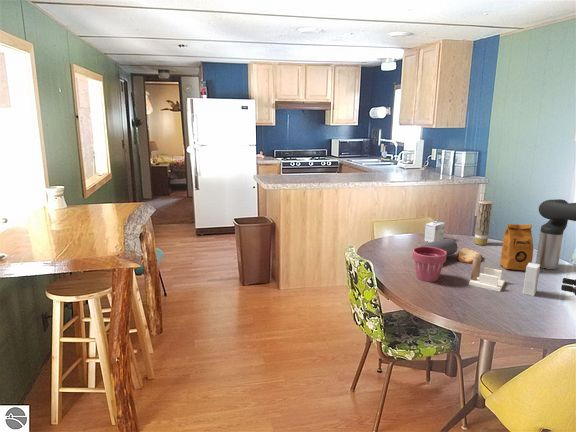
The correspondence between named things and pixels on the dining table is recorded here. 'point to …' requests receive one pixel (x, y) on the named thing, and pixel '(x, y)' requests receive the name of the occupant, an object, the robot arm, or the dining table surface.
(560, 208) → the robot arm
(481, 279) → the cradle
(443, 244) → the bluetooth speaker
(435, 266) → the plant pot
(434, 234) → the light bulb box
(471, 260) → the bread slice
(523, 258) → the coffee package
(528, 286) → the skincare box
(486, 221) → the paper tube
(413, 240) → the dining table surface
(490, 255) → the dining table surface
